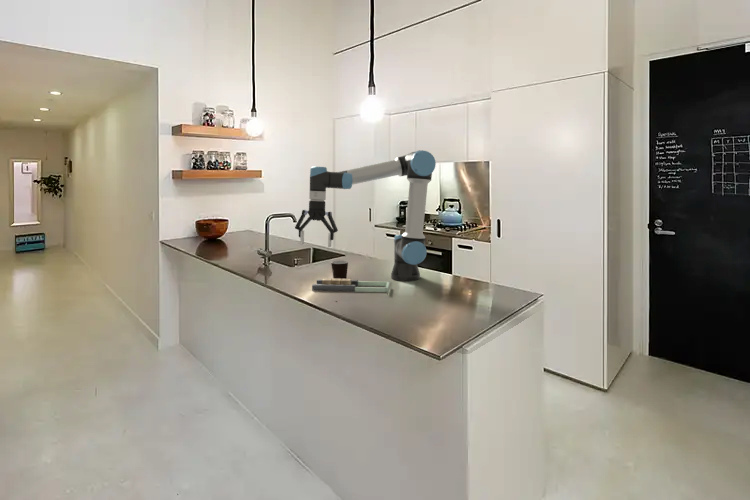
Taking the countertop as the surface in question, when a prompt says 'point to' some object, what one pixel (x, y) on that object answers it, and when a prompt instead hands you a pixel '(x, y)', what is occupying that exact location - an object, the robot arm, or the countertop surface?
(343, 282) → the beige cubic piece
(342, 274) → the coffee mug
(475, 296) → the countertop surface
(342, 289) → the slot channel
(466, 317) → the countertop surface
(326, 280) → the tan cubic piece
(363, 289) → the tray
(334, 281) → the tan wooden block
